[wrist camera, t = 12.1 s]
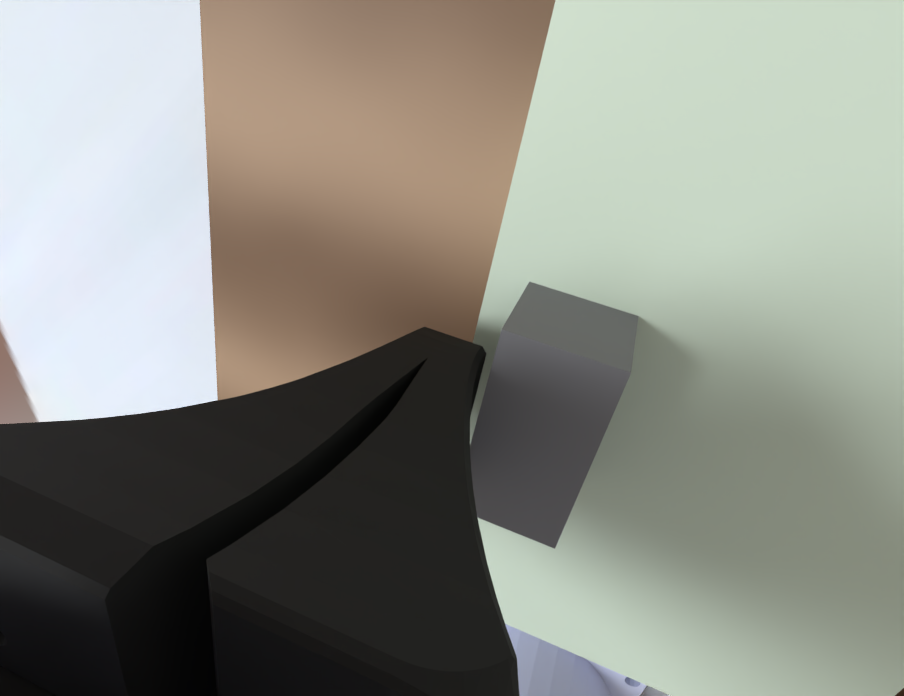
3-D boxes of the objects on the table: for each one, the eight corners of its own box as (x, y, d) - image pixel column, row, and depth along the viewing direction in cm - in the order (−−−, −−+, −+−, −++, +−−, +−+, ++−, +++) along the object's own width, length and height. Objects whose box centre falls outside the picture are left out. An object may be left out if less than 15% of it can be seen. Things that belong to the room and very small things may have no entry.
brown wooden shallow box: (941, 668, 16) (998, 804, 14) (285, 410, 20) (221, 474, 17) (1589, 128, 8) (2064, 179, 6) (304, -122, 12) (191, -168, 10)
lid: (812, 726, 14) (838, 861, 12) (425, 561, 16) (383, 649, 14) (1515, 78, 6) (2000, 105, 4) (588, -95, 8) (554, -143, 6)
